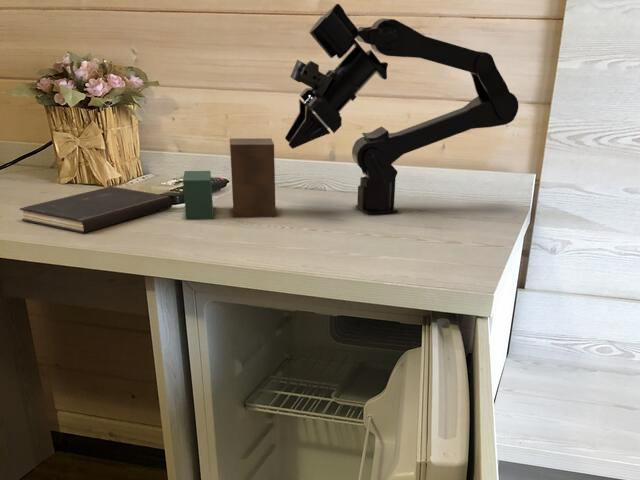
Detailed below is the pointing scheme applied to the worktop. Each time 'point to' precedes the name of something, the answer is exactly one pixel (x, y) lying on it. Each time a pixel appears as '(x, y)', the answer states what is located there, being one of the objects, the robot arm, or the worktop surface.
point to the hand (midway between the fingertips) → (288, 143)
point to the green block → (198, 194)
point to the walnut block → (253, 177)
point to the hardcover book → (95, 209)
